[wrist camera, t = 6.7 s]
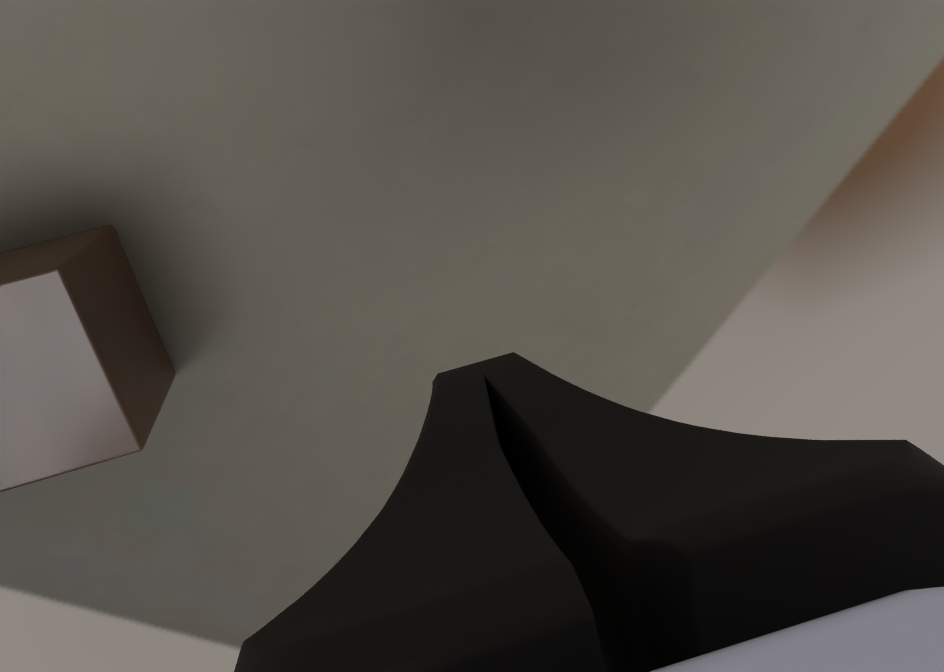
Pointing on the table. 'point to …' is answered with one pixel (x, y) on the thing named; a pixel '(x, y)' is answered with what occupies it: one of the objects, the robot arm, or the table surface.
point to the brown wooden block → (74, 358)
